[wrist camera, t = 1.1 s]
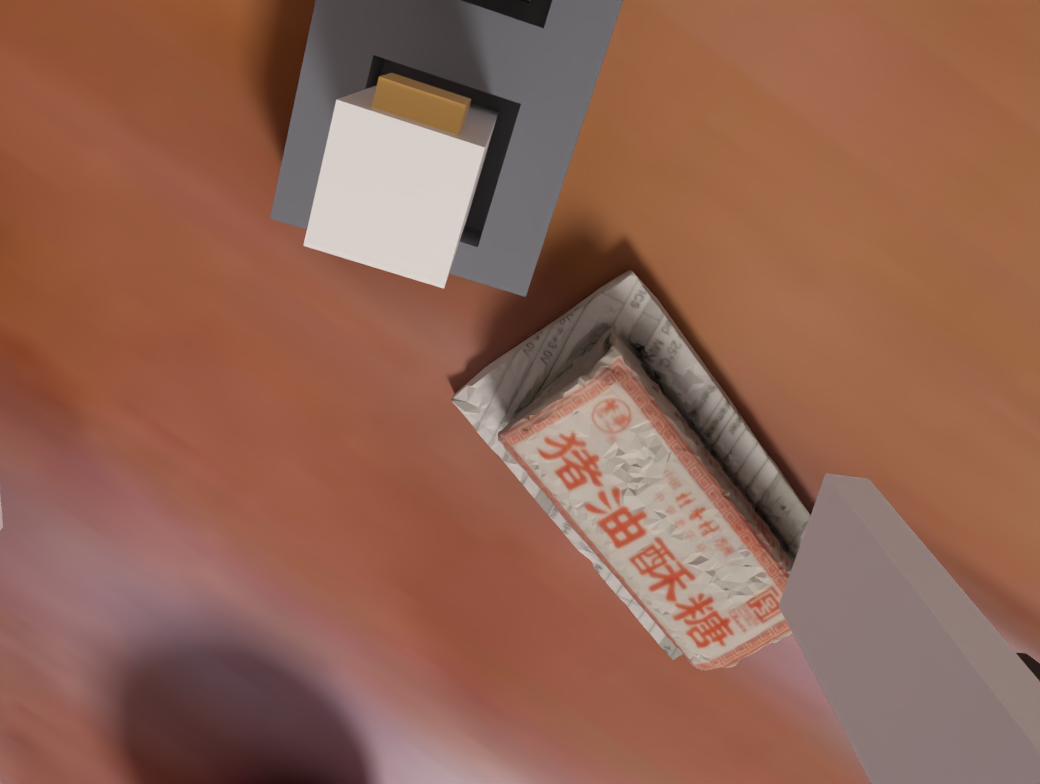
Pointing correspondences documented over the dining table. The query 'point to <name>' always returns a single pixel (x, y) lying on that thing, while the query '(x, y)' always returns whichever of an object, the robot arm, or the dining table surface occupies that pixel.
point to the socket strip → (470, 73)
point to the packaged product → (647, 472)
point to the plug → (400, 177)
